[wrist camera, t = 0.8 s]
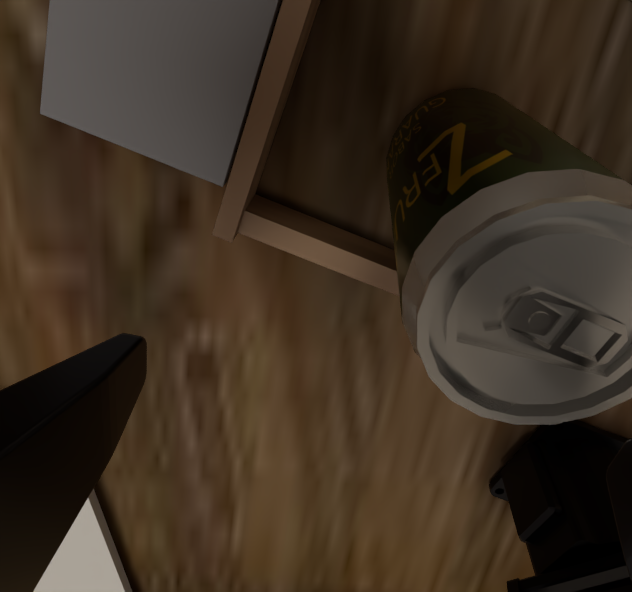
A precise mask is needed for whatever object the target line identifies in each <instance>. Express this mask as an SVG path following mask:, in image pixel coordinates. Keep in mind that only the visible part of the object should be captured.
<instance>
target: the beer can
mask: <svg viewBox="0 0 632 592" xmlns="http://www.w3.org/2000/svg"><path fill="white" fill-rule="evenodd" d="M387 183H388V192H389V202H390V211H391V220H392V230H393V239H394V248H395V258H396V267H397V276H398V286H399V295H400V304H401V314H402V322H403V325H404V327H405V330H406V332H407V334H408V337H409V339H410V342H411V344H412V346H413V349H414V351H415V353H416V354H417V355H418V356H419V357H420V358H421V359H422V361H423V364H424V366H425V368H426V371H427V373H428V376H429V378H430V379H431V380H432V381H433V382H434V383H435V384H436V385H437V386H438V387H439V388H440V389H441V390H442V392H443V393H444V394H445V395H446V396H447V397H448V398H449V399H450V400H451V401H453V402H455V403H456V404H458V405H460V406H462V407H464V408H466V409H468V410H469V411H471V412H473V413H475V414H477V415H479V416H481V417H485V418H489V419H493V420H498V421H502V422H506V423H511V424H515V425H550V424H559V423H563V422H568V421H572V420H577V419H581V418H586V417H590V416H594V415H596V414H598V413H601V412H603V411H605V410H607V409H609V408H611V407H614V406H616V405H618V404H620V403H622V402H624V401H627V400H629V399H631V398H632V185H630V184H629V183H627V182H626V181H624V180H623V179H622V178H620V177H619V176H617V175H616V174H614V173H613V172H611V171H610V170H608V169H607V168H605V167H604V166H602V165H601V164H599V163H598V162H596V161H595V160H593V159H592V158H590V157H589V156H587V155H586V154H584V153H583V152H581V151H580V150H578V149H577V148H575V147H574V146H572V145H571V144H569V143H568V142H566V141H565V140H563V139H562V138H560V137H559V136H557V135H556V134H554V133H553V132H551V131H550V130H548V129H547V128H545V127H544V126H542V125H541V124H539V123H538V122H536V121H535V120H533V119H532V118H530V117H529V116H527V115H526V114H524V113H523V112H522V111H520V110H519V109H517V108H516V107H514V106H513V105H511V104H510V103H508V102H507V101H505V100H504V99H502V98H501V97H499V96H498V95H496V94H493V93H489V92H485V91H481V90H477V89H473V88H470V89H459V90H448V91H446V92H443V93H441V94H439V95H436V96H434V97H432V98H429V99H427V100H425V101H424V102H423V103H421V104H420V105H419V106H418V107H417V108H415V109H414V110H413V111H412V112H411V113H409V114H408V115H407V116H406V117H405V119H404V120H403V122H402V123H401V125H400V126H399V128H398V129H397V131H396V132H395V134H394V135H393V138H392V141H391V145H390V148H389V152H388V155H387Z"/></svg>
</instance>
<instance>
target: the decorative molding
mask: <svg viewBox="0 0 632 592" xmlns="http://www.w3.org/2000/svg"><path fill="white" fill-rule="evenodd" d="M33 592H132V589H131V587H130V584H129V581H128V579H127V576H126V573H125V571H124V568H123V565H122V563H121V560H120V557H119V555H118V552H117V550H116V547H115V544H114V542H113V539H112V536H111V534H110V531H109V528H108V526H107V523H106V520H105V518H104V515H103V512H102V510H101V507H100V504H99V502H98V499H97V496H96V494H95V491H94V489H93V490H92V492H91V494H90V495H89V497H88V499H87V501H86V502H85V504H84V506H83V507H82V509H81V511H80V512H79V514H78V516H77V518H76V519H75V521H74V523H73V524H72V526H71V528H70V530H69V531H68V533H67V535H66V536H65V538H64V540H63V542H62V543H61V545H60V547H59V548H58V550H57V552H56V554H55V555H54V557H53V559H52V560H51V562H50V564H49V566H48V567H47V569H46V571H45V572H44V574H43V576H42V578H41V579H40V581H39V583H38V584H37V586H36V588H35V589H34V591H33Z"/></svg>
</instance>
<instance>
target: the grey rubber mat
mask: <svg viewBox="0 0 632 592" xmlns="http://www.w3.org/2000/svg"><path fill="white" fill-rule="evenodd" d="M280 2H281V0H50V4H49V16H48V27H47V39H46V50H45V62H44V73H43V85H42V96H41V108H40V114H43V115H45V116H48V117H50V118H53V119H55V120H58V121H60V122H63V123H65V124H68V125H70V126H73V127H75V128H77V129H80V130H82V131H85V132H87V133H90V134H92V135H95V136H97V137H100V138H102V139H105V140H107V141H110V142H112V143H115V144H117V145H120V146H122V147H125V148H127V149H130V150H132V151H135V152H137V153H140V154H142V155H145V156H147V157H150V158H152V159H154V160H157V161H159V162H162V163H164V164H167V165H169V166H172V167H174V168H177V169H179V170H182V171H184V172H187V173H189V174H192V175H194V176H197V177H199V178H202V179H204V180H207V181H209V182H212V183H214V184H217V185H219V186H222V187H223V186H224V185H225V183H226V182H227V178H228V175H229V172H230V168H231V165H232V162H233V158H234V155H235V152H236V148H237V145H238V142H239V138H240V135H241V132H242V129H243V125H244V122H245V119H246V115H247V112H248V109H249V105H250V102H251V99H252V95H253V92H254V89H255V85H256V82H257V79H258V75H259V72H260V69H261V65H262V62H263V59H264V55H265V52H266V49H267V45H268V42H269V39H270V35H271V32H272V29H273V26H274V22H275V19H276V16H277V12H278V9H279V6H280Z"/></svg>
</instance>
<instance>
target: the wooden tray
mask: <svg viewBox="0 0 632 592" xmlns="http://www.w3.org/2000/svg"><path fill="white" fill-rule="evenodd" d="M320 1H321V0H283V2H282V5H281V8H280V12H279V15H278V18H277V22H276V25H275V28H274V31H273V35H272V38H271V41H270V45H269V48H268V51H267V55H266V58H265V61H264V64H263V68H262V71H261V74H260V78H259V81H258V84H257V88H256V91H255V94H254V98H253V101H252V104H251V107H250V111H249V114H248V117H247V121H246V124H245V127H244V131H243V134H242V137H241V140H240V144H239V147H238V150H237V154H236V157H235V160H234V164H233V167H232V170H231V174H230V177H229V180H228V183H227V187H226V190H225V193H224V197H223V200H222V203H221V207H220V210H219V213H218V216H217V220H216V223H215V226H214V230H213V233H212V235H213V236H216V237H218V238H221V239H223V240H226V241H228V242H231V243H232V242H233V240H234V238H235V237H236V235H237V233H240V234H242V235H245V236H248V237H250V238H253V239H255V240H258V241H260V242H263V243H265V244H268V245H270V246H273V247H275V248H278V249H281V250H283V251H286V252H288V253H291V254H293V255H296V256H298V257H301V258H303V259H306V260H309V261H311V262H314V263H316V264H319V265H321V266H324V267H326V268H329V269H331V270H334V271H336V272H339V273H342V274H344V275H347V276H349V277H352V278H354V279H357V280H359V281H362V282H364V283H367V284H369V285H372V286H375V287H377V288H380V289H382V290H385V291H387V292H390V293H392V294H395V295H397V296H400V295H399V286H398V276H397V267H396V258H395V251H394V250H392V249H390V248H387V247H385V246H382V245H380V244H377V243H375V242H372V241H370V240H367V239H365V238H362V237H360V236H357V235H355V234H352V233H350V232H347V231H345V230H343V229H340V228H338V227H335V226H333V225H330V224H328V223H325V222H323V221H320V220H318V219H315V218H313V217H310V216H308V215H305V214H303V213H300V212H298V211H295V210H293V209H291V208H288V207H286V206H283V205H281V204H278V203H276V202H273V201H271V200H268V199H266V198H263V197H261V196H258V195H256V191H257V188H258V185H259V182H260V179H261V176H262V173H263V170H264V167H265V164H266V161H267V158H268V155H269V152H270V149H271V146H272V143H273V140H274V137H275V134H276V131H277V128H278V125H279V122H280V120H281V117H282V114H283V111H284V108H285V105H286V102H287V99H288V96H289V93H290V90H291V87H292V84H293V81H294V78H295V75H296V72H297V69H298V66H299V63H300V60H301V57H302V54H303V51H304V48H305V45H306V42H307V40H308V37H309V34H310V31H311V28H312V25H313V22H314V19H315V16H316V13H317V10H318V7H319V4H320Z"/></svg>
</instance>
